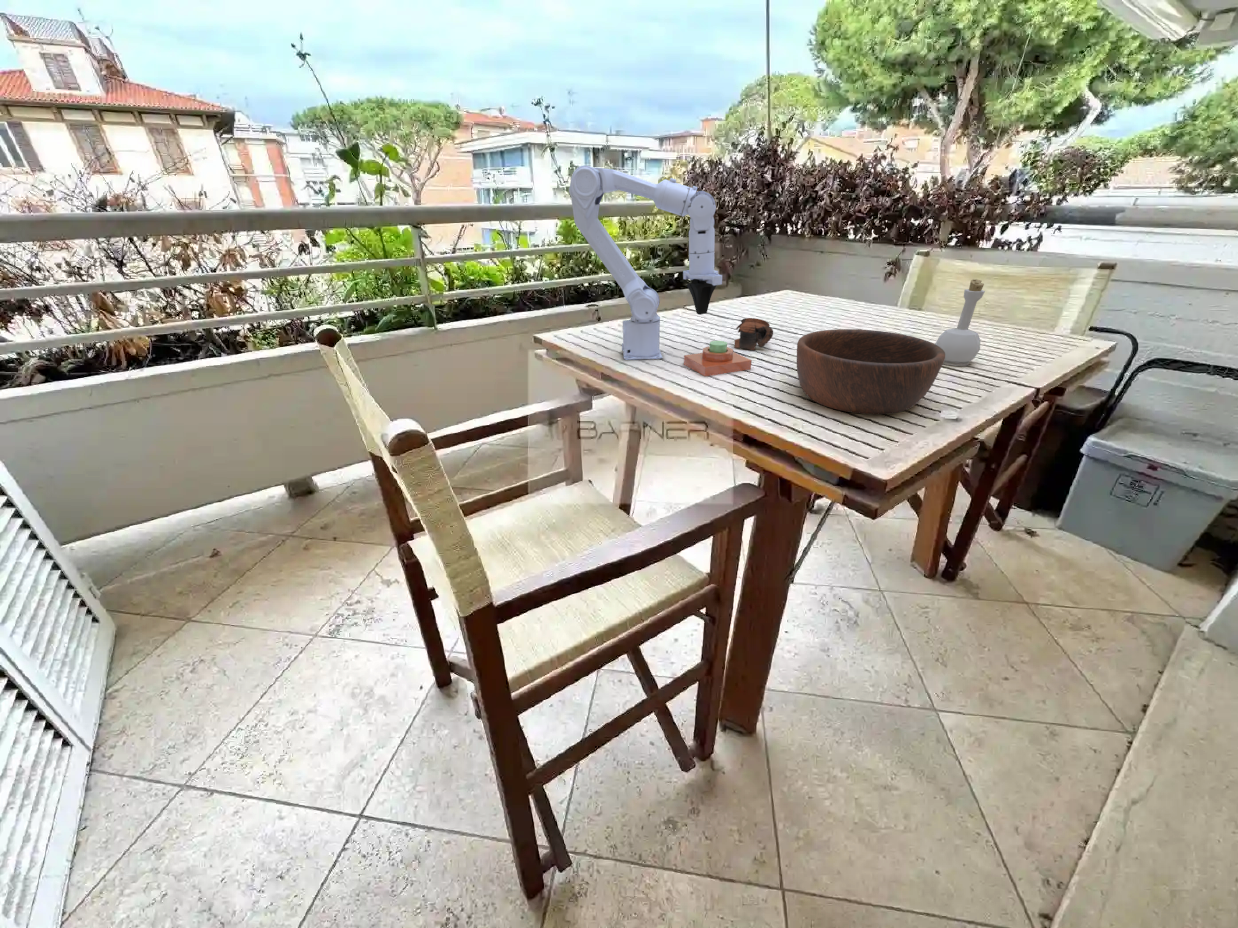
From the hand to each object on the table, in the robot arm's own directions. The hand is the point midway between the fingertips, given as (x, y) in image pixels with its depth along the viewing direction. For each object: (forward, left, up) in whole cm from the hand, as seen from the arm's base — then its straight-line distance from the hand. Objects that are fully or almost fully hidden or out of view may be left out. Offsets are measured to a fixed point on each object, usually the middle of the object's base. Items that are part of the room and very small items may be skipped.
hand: (701, 313), depth 116 cm
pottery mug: (+16, +7, -11) cm, 20 cm away
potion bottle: (+58, -10, -11) cm, 59 cm away
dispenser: (+3, -9, -10) cm, 14 cm away
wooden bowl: (+26, -30, -11) cm, 41 cm away
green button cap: (+3, -9, -7) cm, 11 cm away
